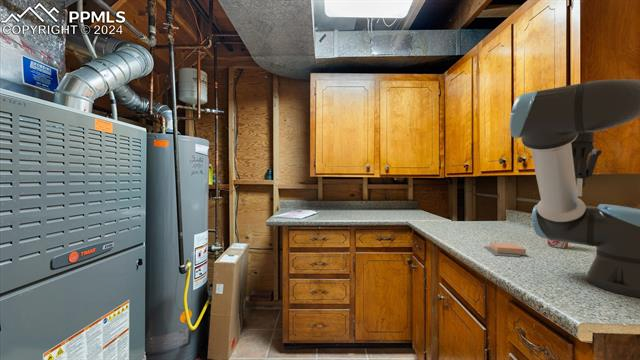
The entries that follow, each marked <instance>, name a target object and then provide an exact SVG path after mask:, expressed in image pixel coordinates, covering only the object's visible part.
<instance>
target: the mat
mask: <svg viewBox="0 0 640 360" xmlns="http://www.w3.org/2000/svg"><path fill="white" fill-rule="evenodd" d="M483 248H484V249H486V250H487V251H488V252H490V253H491V254H492V255H494V256H495V257H496V256H497V257H513V258H522V255H517V254H502V253H497V252H495V251H494V250H492V249H491V248H490V246H483Z"/></svg>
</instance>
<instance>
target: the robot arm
mask: <svg viewBox="0 0 640 360" xmlns="http://www.w3.org/2000/svg"><path fill="white" fill-rule="evenodd" d="M639 118H640V78H639V79H637V78H636V79H635V78H634V79H633V78H628V79H627V78H626V79H625V78H624V79H598V80H591V81H586V82H582V83H576V84H570V85H564V86H558V87H554V88H548V89H542V90H539V89H537V90H535V91H530V92H526V93H523V94H520V95H519V96H517V97H516V99H515V100H514V103H513V105H512V108H511V113H510V120H509V131H510V136H511V137H512V138H514V139H515V138H516V139H521V143H522V145H523V146H524V147H525V148H527V149H530V152H531V156H532V161H533V163H532V164H533V168H534V172H535V177H536V182H537V187H538V191H539V196H540V200H539V202H538V203H537V204H535V205H534V206H533V208H532V212H531V220H532V222H531V223H532V224H531V225H532V227H533V231H534V232H535V234H536V235H537V236H538V237H540V238H542V239H545V240H547V239H549V240H552V241H562V242H568V244H576V245H583V246H589V247H595V248H596V253H595V257H594V259H593V262H592V263H591V265H590V266H589V269H588V271H587V275H586V281H587V282H588V283H590V284H592V285H593V286H595V287H598V288H601V289H603V290H605V291H610V292H612V293H615V294H621V295H625V296H629V297H635V298H640V209H639V208H636V207H635V208H634V207H630V206H625V205H624V206H622V205H616V204H608V203H607V204H606V203H599V204H598V206H597V208H593V207H587V206H586V203H584V201H583V200H582V199H580V198H579V197H583V188H584V187H585V186H586V179H588V178H590V177H593V173H594V170H595V168H596V165H597V163H598V158H599V157H600V156H601V154H602V152H603V151H602V150H598V149H595V145H594V144H593V143H594V140H595V138H594V137H595V132H600V131H606V130H609V129H610V130H611V129H613V128H616V127H619V126H622V125H625V124H628V123H630V122H633V121H634V120H636V119H639Z"/></svg>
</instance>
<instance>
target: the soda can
mask: <svg viewBox="0 0 640 360" xmlns="http://www.w3.org/2000/svg"><path fill="white" fill-rule="evenodd" d="M546 240H547V245H549V246H550V247H552V248H557V249H566V248H568V247H569V243H568V242H562V241H552V240H549V239H546Z"/></svg>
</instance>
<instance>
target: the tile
mask: <svg viewBox="0 0 640 360" xmlns="http://www.w3.org/2000/svg"><path fill="white" fill-rule="evenodd" d="M489 247H490V248H491V249H492V250H494V251H495V252H497V253H502V254H517V255H520V256H524V255H526V253H527V249H526V248H524V247H523V246H521V245H519V244H517V243H509V242H508V243H507V242H492V241H491V242H489Z"/></svg>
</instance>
